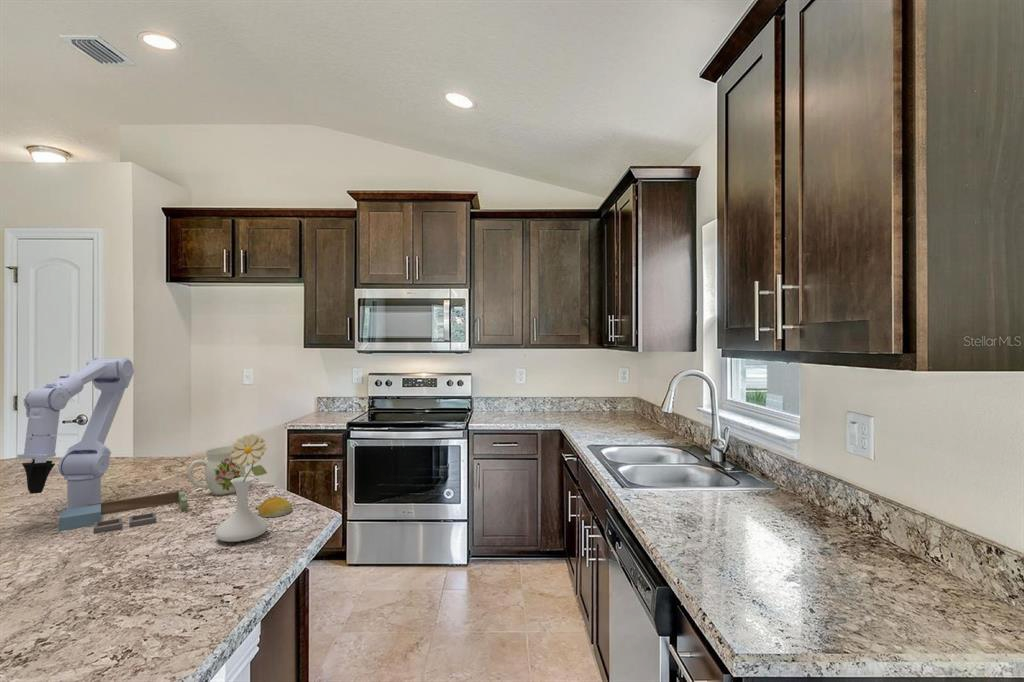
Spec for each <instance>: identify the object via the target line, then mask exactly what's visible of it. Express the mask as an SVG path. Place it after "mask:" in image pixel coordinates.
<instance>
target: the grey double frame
mask: <svg viewBox="0 0 1024 682" xmlns="http://www.w3.org/2000/svg"><path fill="white" fill-rule="evenodd" d="M128 523H129V528H133V527H134V528H135V527H140V526H145V525H151V524H156V523H157V516H156V512H151V513H150V512H149V513H144V514H137V515H131V516H129V522H128ZM122 529H123V517H119V518H115V519H106V520H101V521H100V522H95V524H94V525H93V535H95V534H101V533H105V532H111V531H116V530H122Z"/></svg>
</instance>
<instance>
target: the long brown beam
mask: <svg viewBox="0 0 1024 682" xmlns="http://www.w3.org/2000/svg"><path fill="white" fill-rule="evenodd" d="M187 502H188V500H187V497H186V494H185V492H184V490H178V491H177V490H176V491H169V492H164V493H163V492H162V493H157V494H151V495H144V496H137V497H130V498H124V499H118V500H110V501H105V502H104V501H103V502H102V503H96V504H89V505H87V506H91V505H98V504H101V516H102V515H106V514H107V515H108V514H112V513H113V514H115V513H119V512H120V513H121V512H126V511H132V510H138V509H139V510H140V509H145V508H146V509H147V508H150V507H151V508H152V507H157V506H158V507H159V506H163V505H164V506H165V505H170V504H176V503H178V505H179V509H180V511H181V513H182V512H187V511H188V508H187V507H188V503H187Z"/></svg>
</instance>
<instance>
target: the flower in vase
mask: <svg viewBox="0 0 1024 682" xmlns="http://www.w3.org/2000/svg"><path fill="white" fill-rule="evenodd" d="M265 441H266V439H265V438H263V436H260V435H258V434H254V433H250V434H248V435H247V434H245V435H243V437H238V438H237V440H236V441H235V442H234V443H233V444H232V446H233V448H231V451H230V454H232V455H231V458H233V459H232V462H233V463H234V464H235V463H236V465H240V464H241V466H242V467H245V468H246V467H249V466H251V467H250V469H249V470H248V472H247V473H246V471H245V472H244V471H243V470H240V469H237V468H235V467H234V466H232V467H233V468H234V469H235V470H237V471H240V472H242V473H244V477H240V478H235V479H232V480H231V483H232V484H233V485H234V487H235V490H236V492H235V494H236V509H235V511H234V512H233V514H231V516H229V517H228V518H227V519H226V520H225V521H224V522H222V523H221V524H220V525H219V526H218V528H217V529H216V530H215V533H214V537H215V538H217V540H219V541H221V542H222V541H223V542H230V543H231V542H233V543H234V542H242V541H243V542H244V541H248V540H252V539H255V538H257V537H260V536H261V535H263V534H264V533H266V532H267V530H268V528H269V527H270V525H269V523H268V522H267V521H266V520H265V519H264V517H262V516H259V515H257V514H256V513H254V512H252V511H251V510H250V509H249V506H248V503H249V501H248V499H249V498H248V497H249V490H250V487H251V485H252V482H253V481H254V479H255V478H254V477H252V476H249V474H250V473H251V472H252V473H253V475H254V476H256V477H257V476H262V475H266V474H268V472H267V471H266V469H265V468H264V466H262V465H261V464H257V465H255V466H254V464H256V463H258V462H260V460H262V457H263V456H264V454H265V452H266V451H267V449H268V448H267V443H266V442H265Z"/></svg>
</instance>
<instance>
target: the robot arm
mask: <svg viewBox="0 0 1024 682" xmlns="http://www.w3.org/2000/svg"><path fill="white" fill-rule="evenodd" d="M134 373H135V372H134V365H133V363H132V360H131V359H130V358H128V357H123V358H98V357H93V358H91V359H90V360H87V361H86V364H85V366H83V367H82V368H81V369H80V370H78V371H77V372H75V373H74V374H71V373H70V374H68V373H66V374H64V373H63V374H61V375H59V378H57V379H55V380H54V381H52V382H47V384H45V386H43V387H40V388H39V387H38V388H37V387H36V388H33V389H32V390H29V391H28V392H27V394H26V395H25V398H23V406H24V407H25V409H26V410H25V411H26V412H25V416H26V418H28V420H27V428H26V434H25V443H24V451H23V454H17V455H16V458H22V459H31V462H23V463H21V465H22V466H23V469H24V471H25V475H26V485H27V491H28V492H29V494H31V495H32V494H42V493H43V491H44V488H45V485H46V481H47V480H48V477H49V475H50V472H51V471H52V469H53V468H54V466H55V465H56V463H55V462H53V460H47V459H48V458H53V457H54V458H55V457H56V455H57V453H56V446H57V438H58V429H59V422H60V421H59V420H60V414H61V413H60V412H61V410H64V409H65V408H66V406H67V404H68V402H69V401H70V399H72V398H74V396H76V395H78V394H79V393H81V392H82V391H83V390H84V386H85V384H87V383H90V382H92V384H93V386H94V388H95V389H97V390H99V391H100V395H99V396H98V400H97V402H96V404H95V406H94V409H93V411H92V414H91V416H90V417H89V420H88V423H87V425H86V428H85V430H84V433H83V435H82V437H81V440H80V441H79V442H77V443H75V444H73V445H71V446H70V447H68V448H67V451H66V452H65V454H64V455H63V456H62V457H61V459H60V460H59V463H58V468H57V469H58V472H59V474H60V476H62V477H63V478H64V479H63V480H65V481H66V480H67V481H66V485H67V486H66V489H67V491H66V492H67V494H66V495H67V499H66V501H67V502H66V503H67V505H66V507H65V509H72V508H78V507H85V506H87V505H89V504H96V503H102V502H104V499H102V476H104V475H105V473H106V472H107V471H108V469H109V467H110V458H111V454H112V452H111V451H110V449H109V447H107V446H106V445H104V444H105V442H106V439H107V437H108V435H109V432H110V429H111V427H112V424H113V422H114V419H115V417H116V414H117V411H118V408H119V406H120V404H121V401H122V399H123V397H124V393H125V391H126V389H127V388H128V387H129V385H130V383H131V381H132V377H133V376H134Z"/></svg>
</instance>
